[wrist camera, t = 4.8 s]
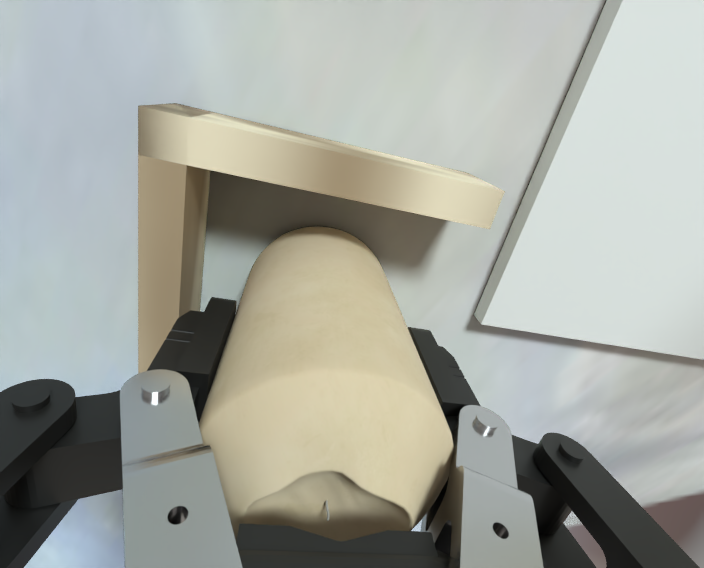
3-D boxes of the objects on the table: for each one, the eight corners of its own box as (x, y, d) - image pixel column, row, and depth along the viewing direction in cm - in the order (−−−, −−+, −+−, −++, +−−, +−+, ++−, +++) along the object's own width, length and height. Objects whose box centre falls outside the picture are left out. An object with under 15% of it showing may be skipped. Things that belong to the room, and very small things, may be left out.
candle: (361, 204, 14) (450, 387, 5) (399, 322, 17) (501, 582, 8) (224, 251, 15) (88, 500, 6) (280, 360, 17) (248, 654, 8)
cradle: (165, 381, 17) (138, 435, 14) (175, 103, 12) (138, 106, 10) (386, 405, 19) (398, 457, 16) (467, 173, 14) (504, 191, 11)
